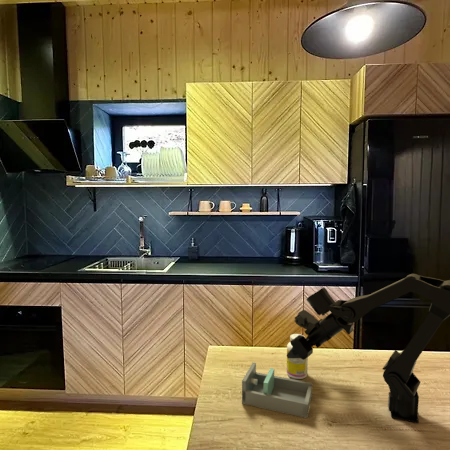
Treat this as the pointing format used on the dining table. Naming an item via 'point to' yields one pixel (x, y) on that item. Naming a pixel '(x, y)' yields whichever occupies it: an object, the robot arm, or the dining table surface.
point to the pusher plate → (269, 382)
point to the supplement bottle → (296, 363)
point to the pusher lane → (277, 393)
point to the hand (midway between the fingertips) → (294, 351)
